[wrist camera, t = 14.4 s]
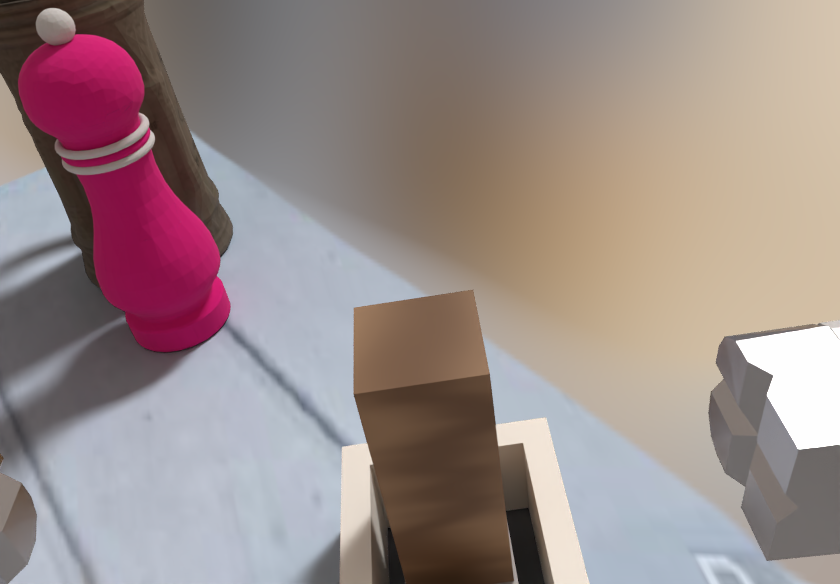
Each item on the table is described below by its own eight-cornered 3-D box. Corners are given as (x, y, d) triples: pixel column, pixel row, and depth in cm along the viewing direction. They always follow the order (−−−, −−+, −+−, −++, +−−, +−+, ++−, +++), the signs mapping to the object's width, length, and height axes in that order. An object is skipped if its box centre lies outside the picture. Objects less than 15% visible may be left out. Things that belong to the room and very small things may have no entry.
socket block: (362, 705, 29) (338, 646, 26) (361, 509, 36) (342, 446, 33) (596, 674, 29) (596, 611, 26) (549, 482, 36) (546, 417, 33)
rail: (417, 639, 31) (348, 398, 22) (410, 545, 34) (349, 305, 26) (523, 624, 31) (495, 377, 22) (506, 532, 34) (477, 286, 26)
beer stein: (262, 251, 55) (158, -47, 43) (117, 322, 50) (-40, 12, 39) (187, 188, 66) (89, -62, 54) (63, 241, 62) (-71, -17, 50)
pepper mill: (195, 368, 46) (49, 39, 34) (103, 348, 49) (-64, 37, 36) (259, 293, 51) (152, -18, 39) (172, 279, 54) (46, -16, 41)
